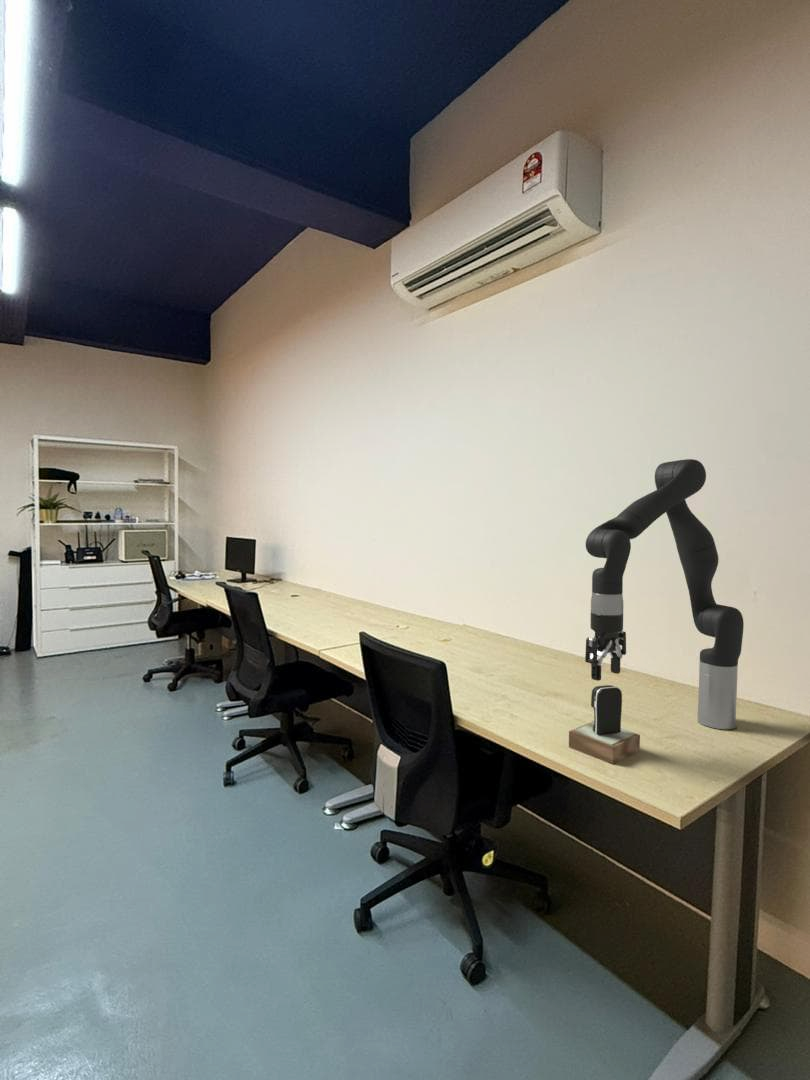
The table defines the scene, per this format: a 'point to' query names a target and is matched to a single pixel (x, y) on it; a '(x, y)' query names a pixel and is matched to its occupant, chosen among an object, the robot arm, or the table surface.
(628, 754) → the base
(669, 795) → the table surface
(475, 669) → the table surface
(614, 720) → the battery
